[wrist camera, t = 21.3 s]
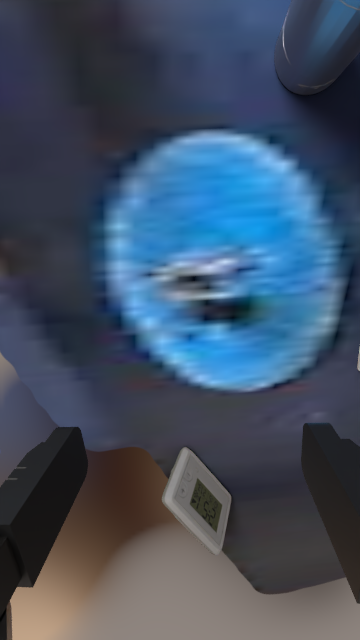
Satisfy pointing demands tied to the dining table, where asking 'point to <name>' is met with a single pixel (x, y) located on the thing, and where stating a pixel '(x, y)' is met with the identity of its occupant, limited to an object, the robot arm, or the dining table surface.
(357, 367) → the white column stand
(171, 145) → the dining table surface
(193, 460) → the digital clock
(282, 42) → the robot arm
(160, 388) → the dining table surface
